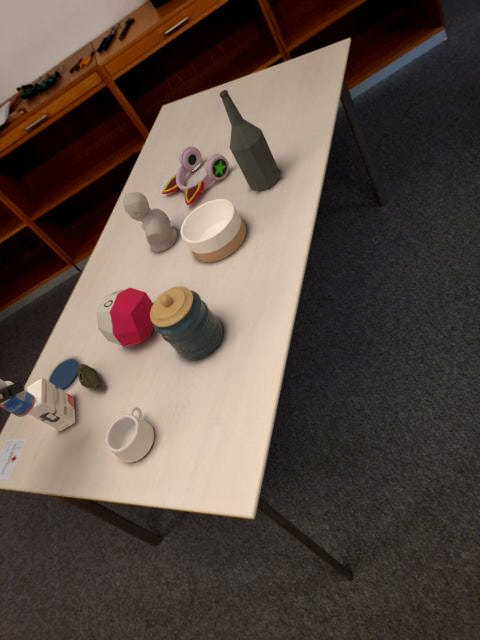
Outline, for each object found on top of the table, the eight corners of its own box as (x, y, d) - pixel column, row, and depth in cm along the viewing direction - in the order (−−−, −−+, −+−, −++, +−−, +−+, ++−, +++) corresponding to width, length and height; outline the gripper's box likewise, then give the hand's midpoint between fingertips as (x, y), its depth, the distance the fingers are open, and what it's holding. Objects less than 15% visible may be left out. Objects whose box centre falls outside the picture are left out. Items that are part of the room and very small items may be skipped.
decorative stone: (75, 393, 119) (62, 385, 115) (86, 368, 123) (74, 359, 119) (105, 394, 114) (93, 385, 110) (116, 368, 118) (104, 358, 114)
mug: (149, 463, 96) (132, 454, 91) (114, 463, 100) (97, 454, 96) (162, 412, 102) (148, 401, 98) (129, 413, 107) (114, 403, 102)
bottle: (270, 166, 142) (229, 77, 120) (286, 175, 135) (246, 83, 114) (245, 185, 142) (200, 99, 120) (260, 196, 135) (215, 107, 113)
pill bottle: (15, 421, 97) (-22, 402, 90) (18, 401, 101) (-17, 381, 94) (35, 411, 96) (0, 391, 89) (38, 391, 100) (4, 370, 93)
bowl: (237, 210, 135) (225, 189, 129) (253, 241, 124) (241, 220, 118) (189, 239, 138) (175, 219, 132) (201, 272, 126) (186, 252, 120)
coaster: (48, 396, 123) (47, 396, 123) (52, 368, 130) (50, 367, 129) (77, 383, 121) (76, 382, 121) (80, 355, 128) (78, 354, 127)
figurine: (152, 259, 140) (114, 215, 126) (152, 234, 148) (116, 190, 134) (178, 247, 138) (142, 201, 124) (176, 223, 146) (143, 176, 132)
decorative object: (132, 311, 105) (78, 309, 109) (148, 358, 114) (97, 354, 118) (156, 278, 117) (106, 277, 121) (169, 323, 125) (122, 321, 129)
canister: (219, 309, 114) (185, 265, 101) (228, 348, 105) (191, 304, 93) (176, 330, 116) (137, 289, 104) (181, 369, 108) (139, 330, 95)
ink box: (59, 405, 119) (26, 385, 111) (74, 396, 118) (42, 376, 110) (60, 432, 113) (24, 413, 105) (76, 422, 113) (41, 403, 104)
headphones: (224, 149, 144) (178, 184, 139) (234, 176, 151) (190, 209, 146) (192, 141, 157) (149, 172, 152) (203, 165, 164) (161, 196, 159)
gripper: (-40, 389, 78) (31, 365, 94) (-95, 404, 82) (-18, 378, 98) (-27, 430, 78) (42, 398, 94) (-82, 442, 83) (-7, 410, 99)
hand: (11, 388), depth 96 cm, fingers closed on pill bottle, 5 cm apart
